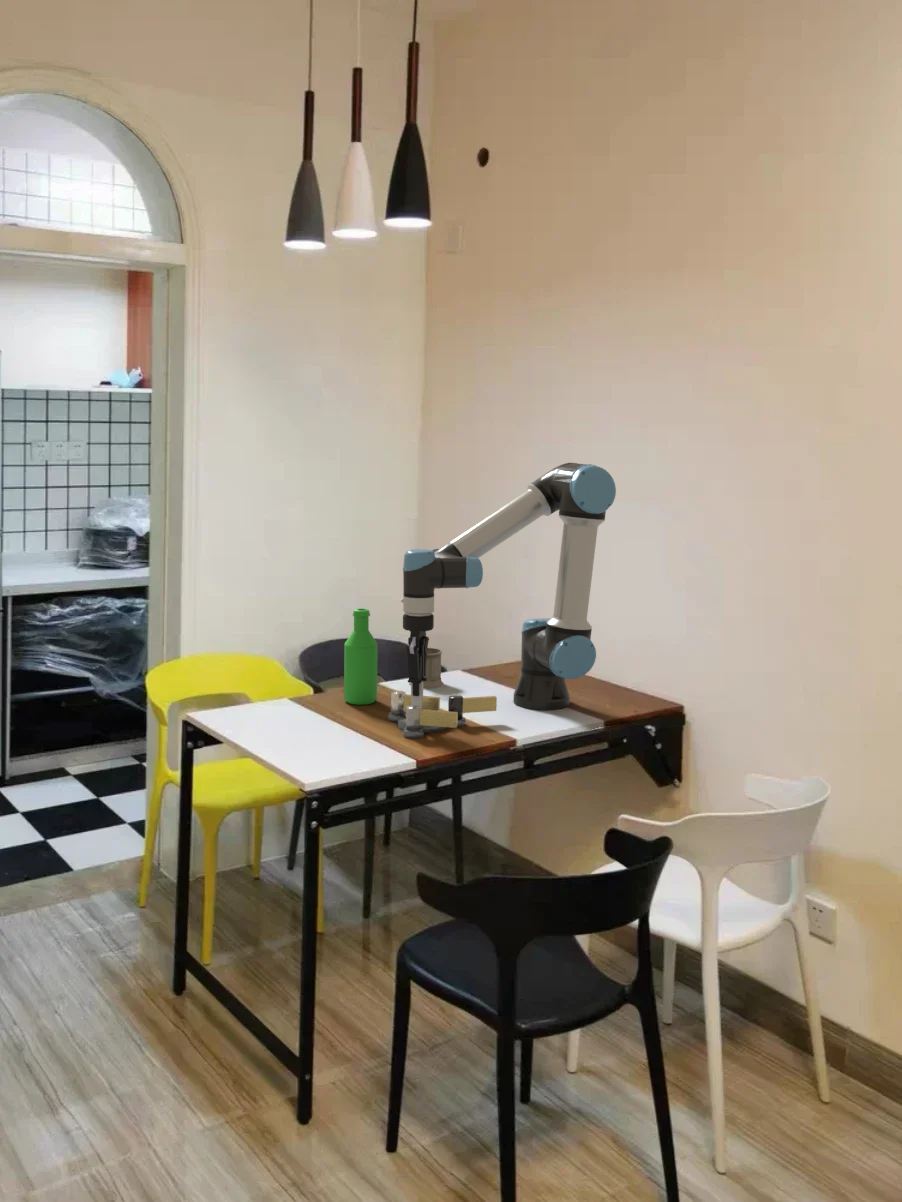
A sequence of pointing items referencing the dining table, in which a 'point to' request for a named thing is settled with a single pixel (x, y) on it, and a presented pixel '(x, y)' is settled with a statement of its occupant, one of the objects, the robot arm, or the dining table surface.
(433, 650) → the mug
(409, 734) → the tribrach plate
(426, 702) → the lever
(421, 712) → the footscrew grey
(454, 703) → the black and tan lever
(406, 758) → the dining table surface
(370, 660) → the bottle
